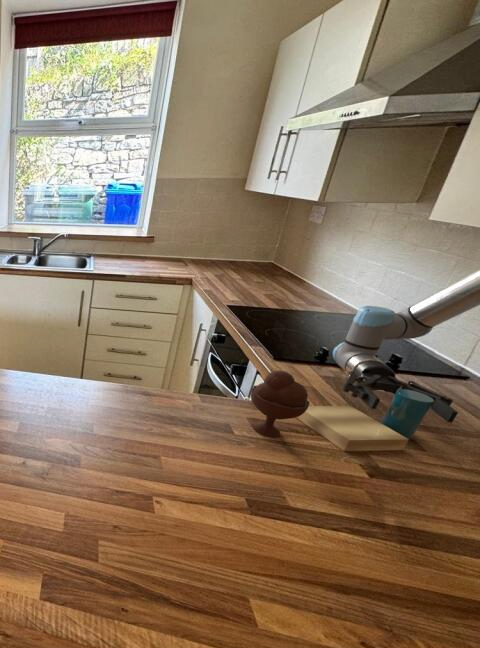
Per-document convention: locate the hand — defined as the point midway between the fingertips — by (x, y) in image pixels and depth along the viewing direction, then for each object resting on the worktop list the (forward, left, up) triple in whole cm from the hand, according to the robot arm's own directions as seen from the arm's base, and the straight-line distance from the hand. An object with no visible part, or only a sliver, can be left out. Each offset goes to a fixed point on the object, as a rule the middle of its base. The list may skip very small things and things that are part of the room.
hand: (413, 410), depth 92 cm
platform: (+2, +12, -7) cm, 14 cm away
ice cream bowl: (+3, +31, -7) cm, 32 cm away
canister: (+2, -1, -7) cm, 7 cm away
